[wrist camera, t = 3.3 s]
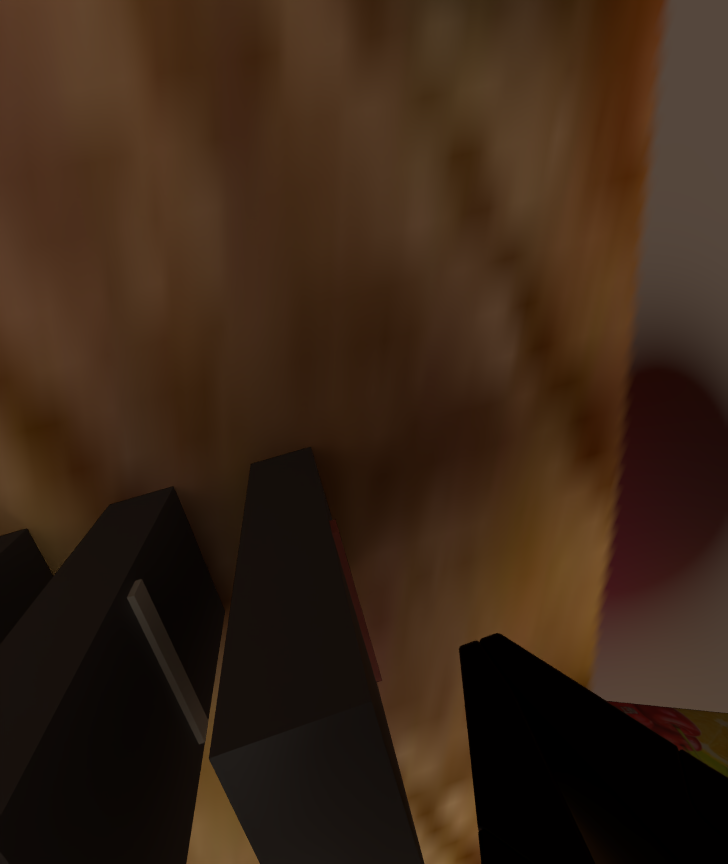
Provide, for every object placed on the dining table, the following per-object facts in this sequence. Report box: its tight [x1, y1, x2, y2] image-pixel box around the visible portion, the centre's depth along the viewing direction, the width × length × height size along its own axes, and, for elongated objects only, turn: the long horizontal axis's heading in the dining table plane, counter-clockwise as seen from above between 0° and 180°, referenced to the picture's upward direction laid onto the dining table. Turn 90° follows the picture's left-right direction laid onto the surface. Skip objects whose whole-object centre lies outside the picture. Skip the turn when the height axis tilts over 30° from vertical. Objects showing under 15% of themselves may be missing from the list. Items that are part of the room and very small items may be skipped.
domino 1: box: [0, 486, 225, 864], centre depth 11 cm, size 2×5×10 cm, turn 14°
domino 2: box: [209, 447, 424, 864], centre depth 11 cm, size 2×5×10 cm, turn 14°
